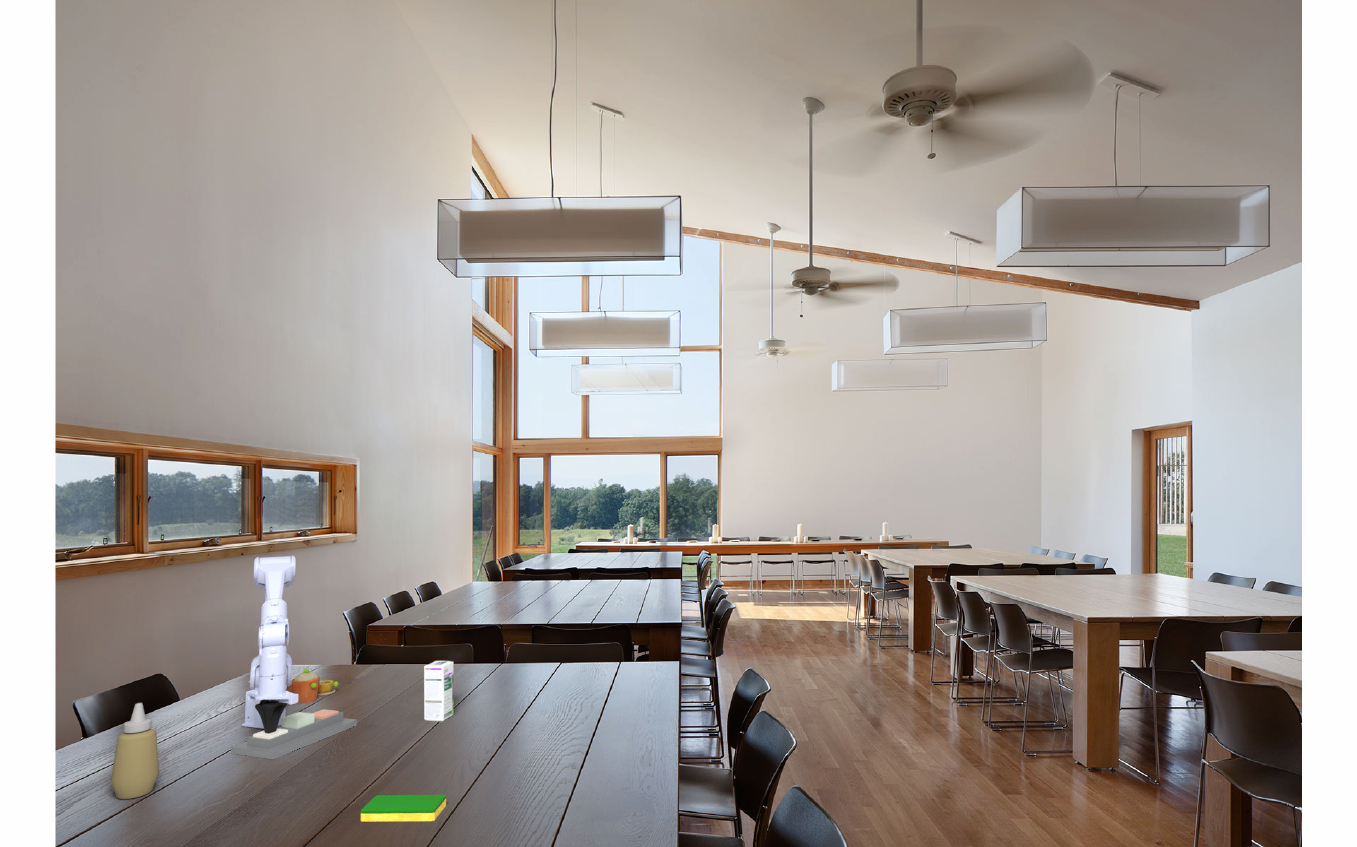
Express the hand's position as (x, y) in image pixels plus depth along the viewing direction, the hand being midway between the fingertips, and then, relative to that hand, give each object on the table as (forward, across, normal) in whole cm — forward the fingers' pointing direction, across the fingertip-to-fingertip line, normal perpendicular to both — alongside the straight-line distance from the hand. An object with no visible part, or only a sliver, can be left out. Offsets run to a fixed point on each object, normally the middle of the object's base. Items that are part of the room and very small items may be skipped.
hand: (270, 732), depth 179 cm
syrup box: (+4, +23, +33) cm, 40 cm away
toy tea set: (+4, -34, +37) cm, 50 cm away
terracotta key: (+2, 0, +16) cm, 16 cm away
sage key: (+1, 0, +8) cm, 8 cm away
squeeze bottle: (+4, -4, -29) cm, 30 cm away
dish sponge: (+5, +55, -19) cm, 59 cm away
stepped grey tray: (+4, 0, +8) cm, 9 cm away
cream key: (+2, 0, 0) cm, 2 cm away
